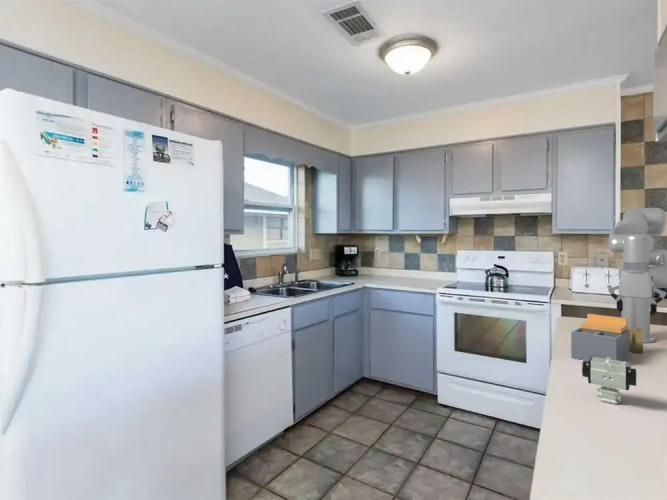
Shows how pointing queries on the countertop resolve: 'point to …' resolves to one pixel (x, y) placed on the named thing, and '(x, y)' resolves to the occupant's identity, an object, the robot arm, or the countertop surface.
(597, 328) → the cover
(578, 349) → the housing
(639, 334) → the pin
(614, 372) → the pneumatic valve
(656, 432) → the countertop surface
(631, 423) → the countertop surface
